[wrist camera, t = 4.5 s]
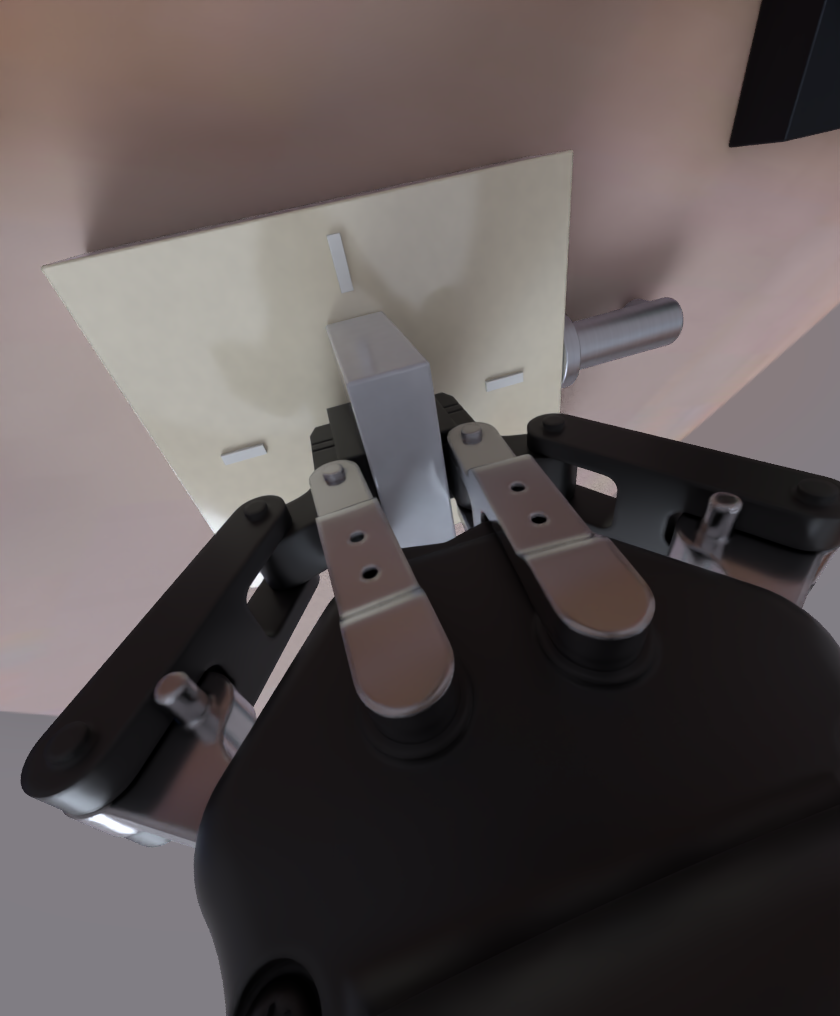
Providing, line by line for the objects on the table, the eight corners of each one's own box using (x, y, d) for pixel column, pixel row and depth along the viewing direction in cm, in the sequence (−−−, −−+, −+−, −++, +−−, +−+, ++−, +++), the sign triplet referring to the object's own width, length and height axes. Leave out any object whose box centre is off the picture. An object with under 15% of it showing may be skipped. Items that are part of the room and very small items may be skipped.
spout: (530, 308, 16) (568, 325, 14) (653, 275, 17) (708, 287, 15) (530, 376, 18) (564, 401, 16) (641, 345, 19) (689, 365, 16)
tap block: (83, 253, 12) (34, 267, 10) (524, 157, 14) (578, 148, 11) (253, 543, 20) (249, 592, 17) (526, 460, 21) (558, 495, 19)
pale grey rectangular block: (323, 324, 12) (347, 388, 8) (383, 310, 12) (433, 364, 8) (375, 497, 16) (407, 596, 12) (419, 484, 16) (465, 577, 12)
